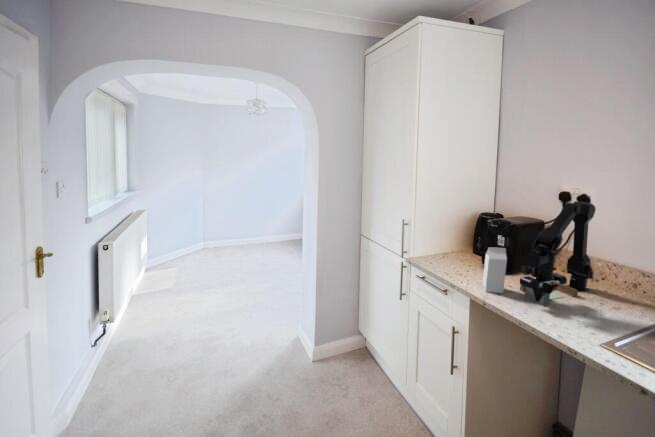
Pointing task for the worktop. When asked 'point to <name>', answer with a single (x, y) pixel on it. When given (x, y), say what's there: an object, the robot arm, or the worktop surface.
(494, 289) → the milk carton
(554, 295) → the pad
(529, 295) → the bracket
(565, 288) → the wooden corner frame
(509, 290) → the worktop surface
